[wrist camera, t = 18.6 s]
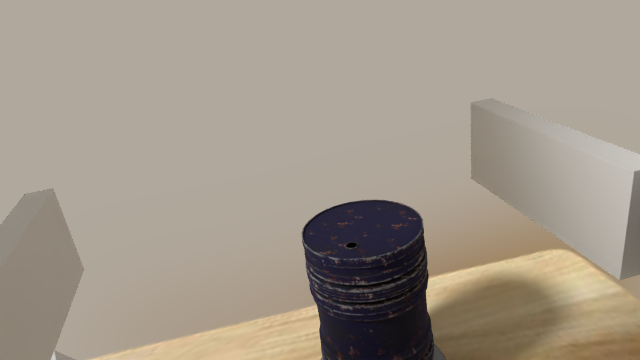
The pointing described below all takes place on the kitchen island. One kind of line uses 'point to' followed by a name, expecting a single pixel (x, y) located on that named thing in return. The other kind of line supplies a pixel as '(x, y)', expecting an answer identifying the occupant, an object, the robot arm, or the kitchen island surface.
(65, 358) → the die
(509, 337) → the kitchen island surface
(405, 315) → the dark blue cylinder
